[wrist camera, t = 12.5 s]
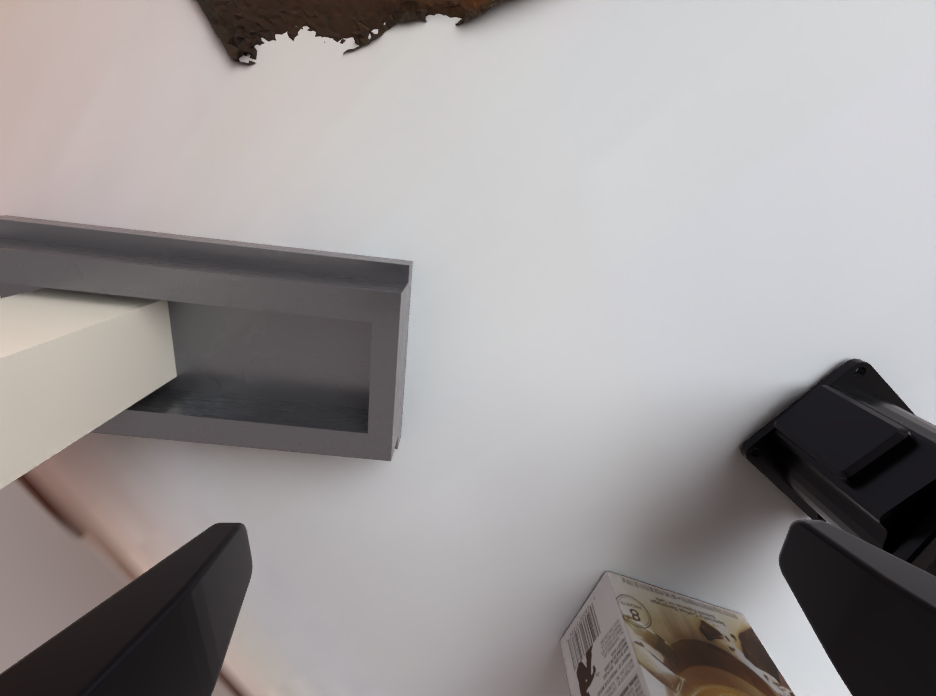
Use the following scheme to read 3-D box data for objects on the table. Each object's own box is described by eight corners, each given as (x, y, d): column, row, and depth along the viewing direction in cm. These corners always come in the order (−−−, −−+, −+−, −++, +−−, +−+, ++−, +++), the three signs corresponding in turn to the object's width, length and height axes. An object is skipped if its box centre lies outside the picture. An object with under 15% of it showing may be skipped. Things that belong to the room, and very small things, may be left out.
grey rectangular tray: (412, 261, 18) (402, 274, 16) (400, 437, 21) (390, 475, 18) (6, 215, 18) (-81, 220, 15) (50, 402, 21) (-17, 436, 18)
